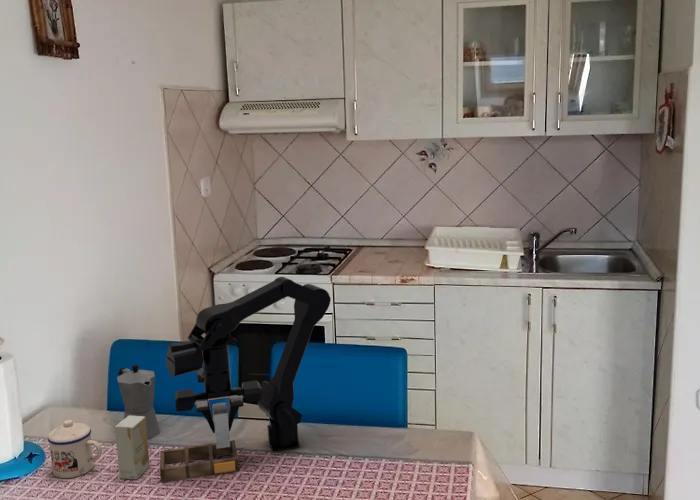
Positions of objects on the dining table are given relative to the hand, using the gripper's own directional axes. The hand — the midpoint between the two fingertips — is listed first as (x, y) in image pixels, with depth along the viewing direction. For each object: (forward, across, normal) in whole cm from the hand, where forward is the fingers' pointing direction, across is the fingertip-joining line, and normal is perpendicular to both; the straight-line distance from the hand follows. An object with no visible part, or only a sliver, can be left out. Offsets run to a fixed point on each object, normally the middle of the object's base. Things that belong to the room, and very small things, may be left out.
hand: (221, 431), depth 156 cm
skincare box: (+8, +19, -2) cm, 21 cm away
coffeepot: (+8, +19, -23) cm, 31 cm away
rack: (+8, +5, 0) cm, 9 cm away
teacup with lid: (+8, +32, -7) cm, 33 cm away
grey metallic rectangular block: (+2, 0, 0) cm, 2 cm away
